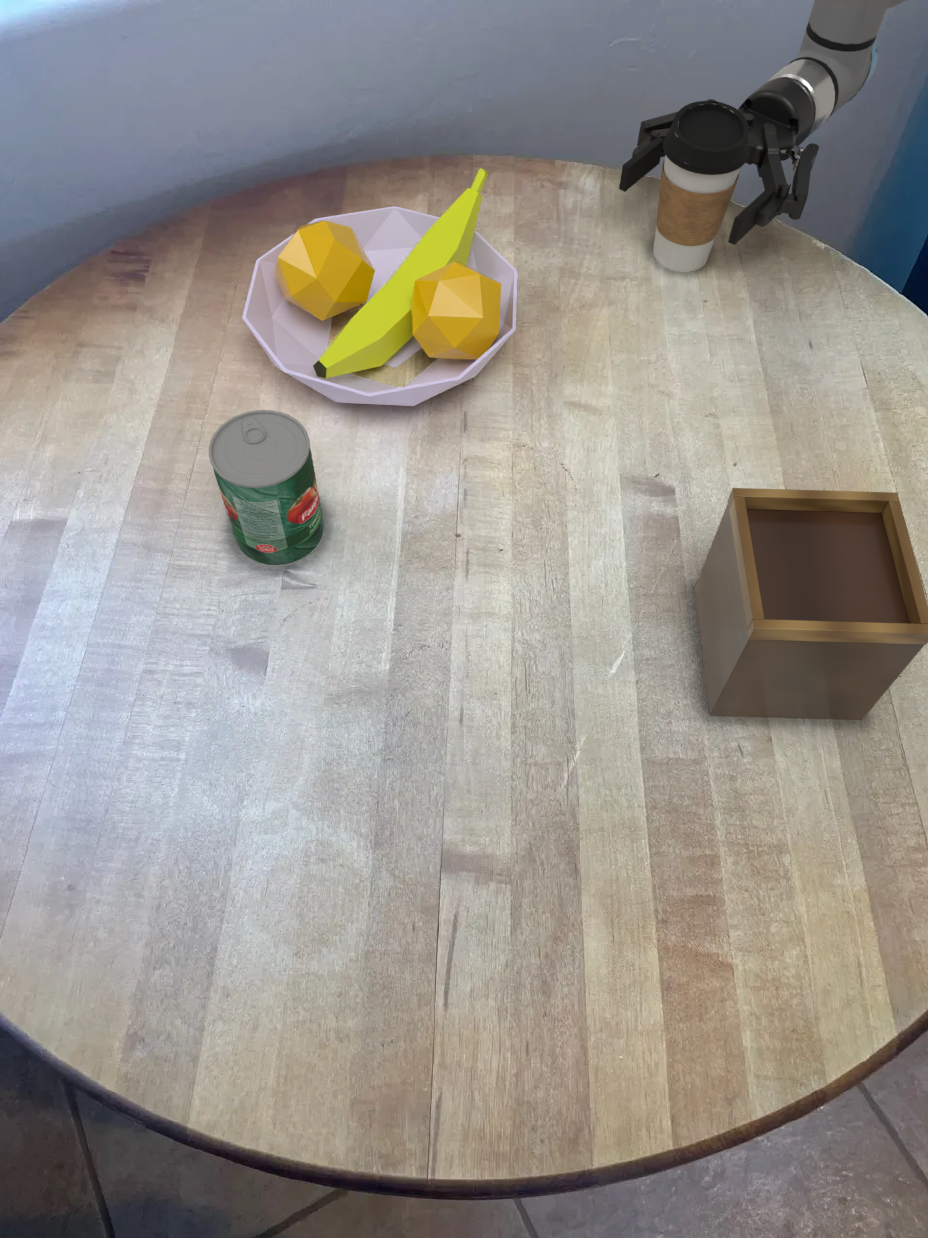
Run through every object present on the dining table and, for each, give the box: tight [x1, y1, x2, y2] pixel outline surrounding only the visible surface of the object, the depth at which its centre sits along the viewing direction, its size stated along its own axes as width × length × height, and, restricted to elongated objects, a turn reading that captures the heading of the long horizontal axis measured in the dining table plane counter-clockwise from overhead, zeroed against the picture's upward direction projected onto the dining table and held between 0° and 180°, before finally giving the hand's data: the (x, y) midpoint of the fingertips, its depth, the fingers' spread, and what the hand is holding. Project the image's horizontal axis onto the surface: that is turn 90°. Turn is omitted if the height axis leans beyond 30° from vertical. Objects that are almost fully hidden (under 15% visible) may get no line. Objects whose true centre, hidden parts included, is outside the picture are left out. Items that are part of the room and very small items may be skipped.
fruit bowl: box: [241, 167, 518, 407], centre depth 93 cm, size 28×27×11 cm
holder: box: [693, 487, 928, 721], centre depth 73 cm, size 12×12×14 cm
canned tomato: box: [208, 409, 326, 568], centre depth 80 cm, size 8×8×11 cm
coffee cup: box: [652, 100, 749, 273], centre depth 99 cm, size 8×8×15 cm
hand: (677, 204), depth 97 cm, fingers open, 12 cm apart
